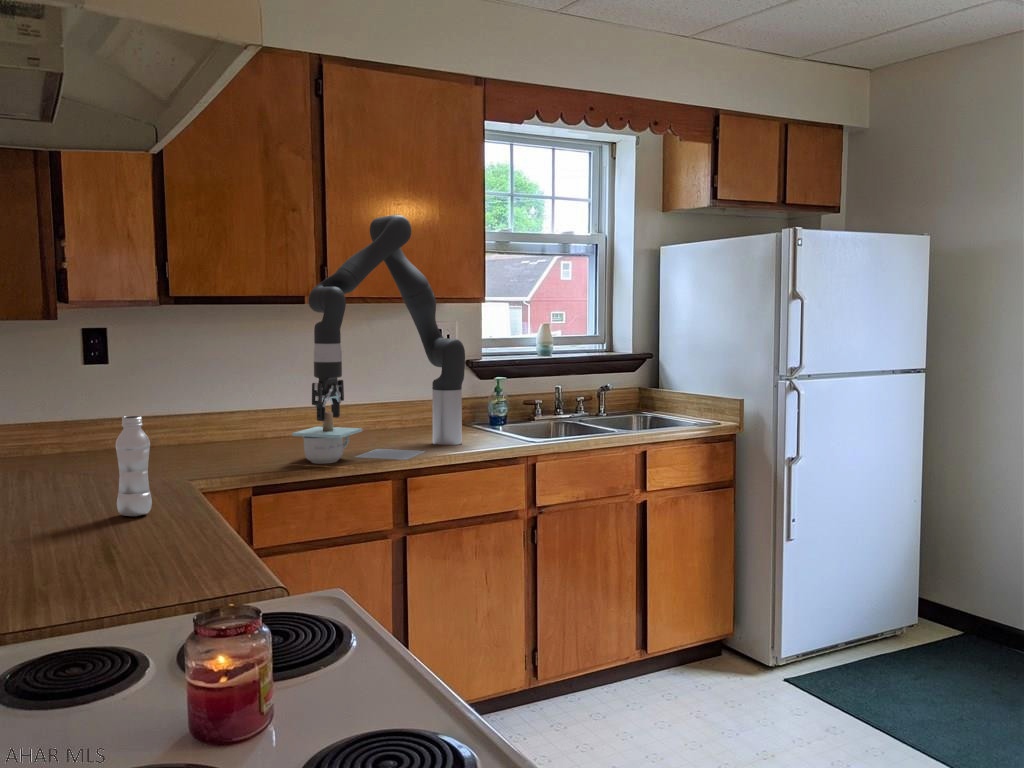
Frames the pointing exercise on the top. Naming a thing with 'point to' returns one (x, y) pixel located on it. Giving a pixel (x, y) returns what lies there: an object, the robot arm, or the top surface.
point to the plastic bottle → (133, 468)
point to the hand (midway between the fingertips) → (328, 419)
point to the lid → (327, 429)
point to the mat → (390, 454)
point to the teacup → (324, 449)
